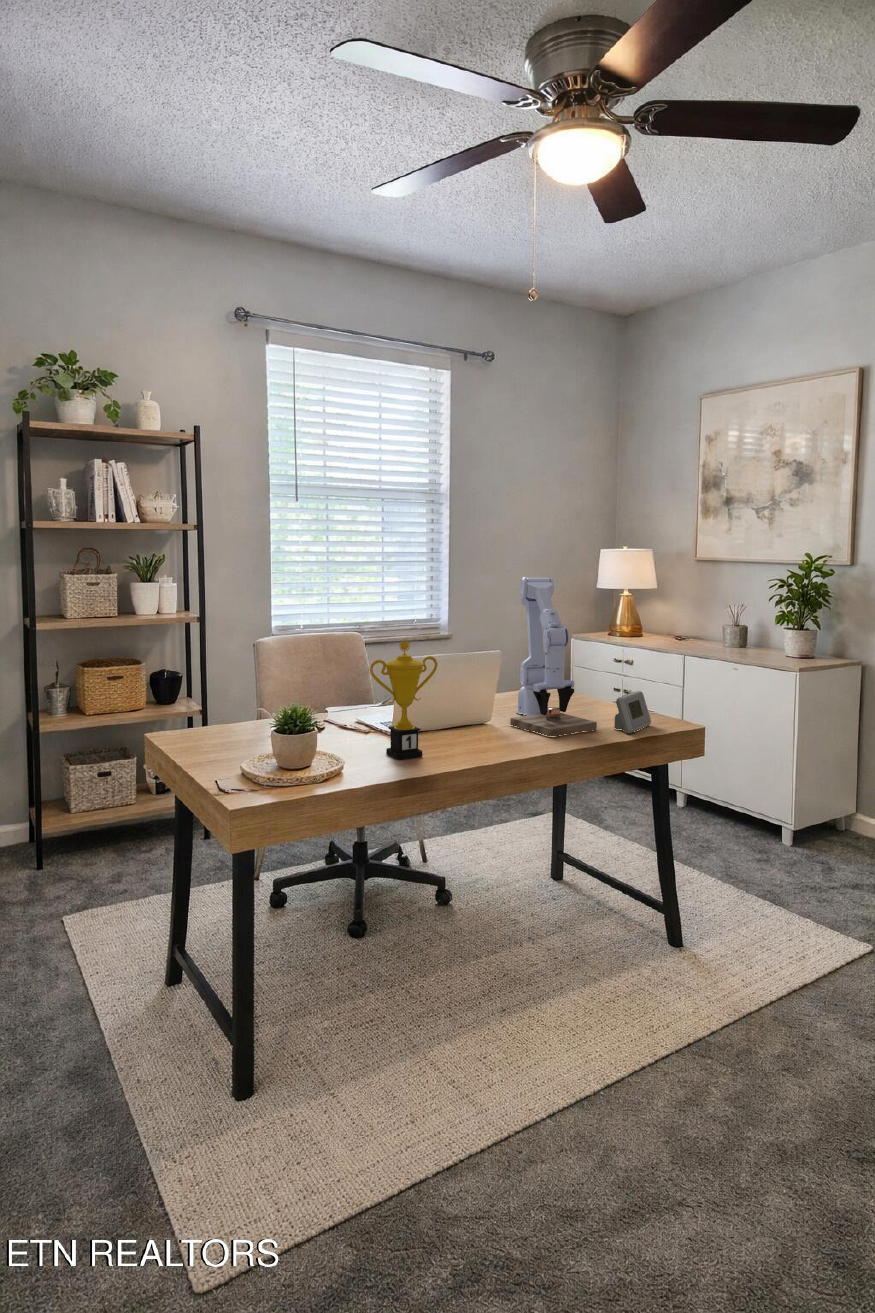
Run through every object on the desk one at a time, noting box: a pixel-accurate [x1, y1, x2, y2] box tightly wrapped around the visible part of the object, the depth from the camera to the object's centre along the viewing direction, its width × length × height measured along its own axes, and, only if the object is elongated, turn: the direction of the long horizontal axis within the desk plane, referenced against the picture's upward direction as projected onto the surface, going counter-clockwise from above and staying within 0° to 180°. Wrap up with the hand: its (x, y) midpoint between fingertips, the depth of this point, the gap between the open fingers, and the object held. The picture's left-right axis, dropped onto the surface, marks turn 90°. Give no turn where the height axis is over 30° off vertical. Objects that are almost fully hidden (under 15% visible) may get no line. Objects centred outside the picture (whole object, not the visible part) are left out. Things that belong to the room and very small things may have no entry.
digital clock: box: [613, 690, 652, 734], centre depth 239 cm, size 16×9×11 cm, turn 132°
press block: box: [509, 712, 598, 736], centre depth 239 cm, size 18×18×4 cm
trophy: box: [369, 639, 438, 761], centre depth 205 cm, size 19×10×30 cm, turn 120°
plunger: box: [546, 706, 561, 718], centre depth 239 cm, size 4×4×6 cm
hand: (553, 713), depth 239 cm, fingers open, 7 cm apart
